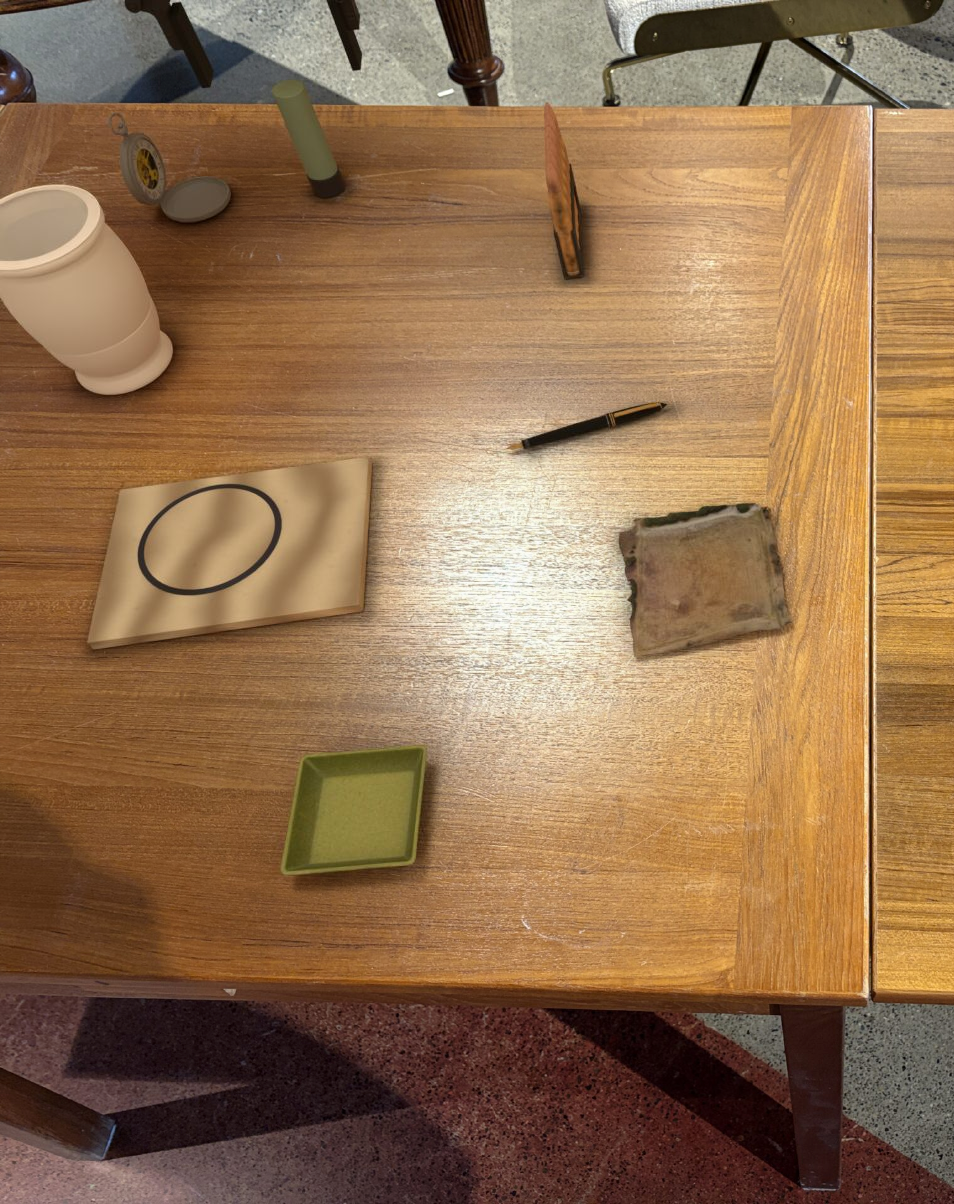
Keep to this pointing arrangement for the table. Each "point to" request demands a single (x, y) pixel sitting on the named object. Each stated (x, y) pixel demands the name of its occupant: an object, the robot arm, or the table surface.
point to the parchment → (702, 577)
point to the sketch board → (234, 553)
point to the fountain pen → (592, 425)
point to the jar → (79, 289)
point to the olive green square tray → (355, 810)
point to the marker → (308, 138)
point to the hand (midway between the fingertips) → (283, 71)
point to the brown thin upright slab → (563, 199)
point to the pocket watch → (182, 199)
